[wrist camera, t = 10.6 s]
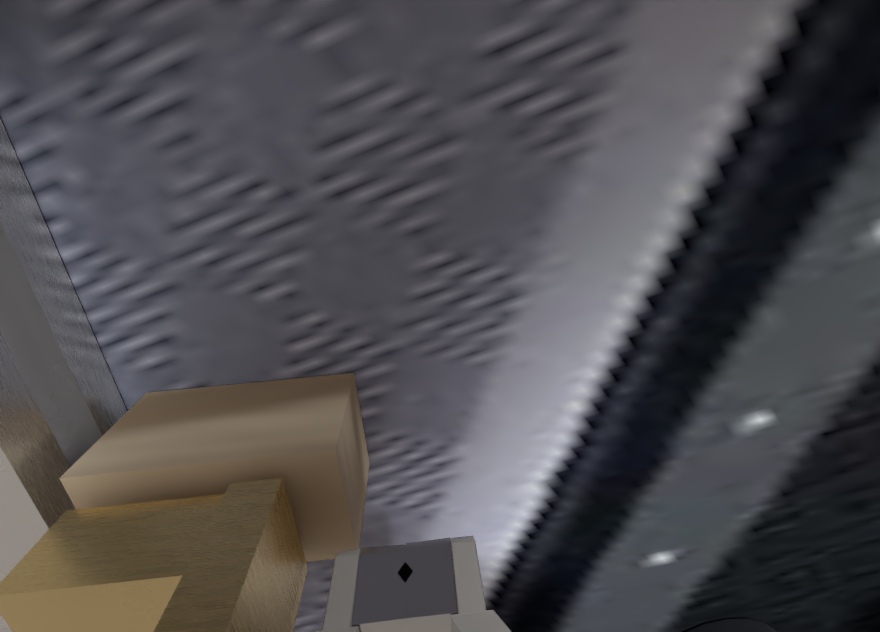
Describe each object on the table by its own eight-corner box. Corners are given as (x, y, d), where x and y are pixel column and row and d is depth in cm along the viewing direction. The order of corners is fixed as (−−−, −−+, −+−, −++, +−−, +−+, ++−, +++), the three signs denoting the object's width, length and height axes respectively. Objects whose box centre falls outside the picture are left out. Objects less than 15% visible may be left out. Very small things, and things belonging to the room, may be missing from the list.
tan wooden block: (146, 392, 13) (58, 478, 10) (354, 372, 13) (335, 450, 10) (182, 481, 15) (116, 582, 11) (369, 462, 15) (358, 556, 12)
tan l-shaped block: (60, 500, 10) (-120, 689, 6) (282, 477, 10) (218, 650, 7) (110, 588, 11) (-20, 786, 8) (307, 567, 11) (264, 752, 8)
